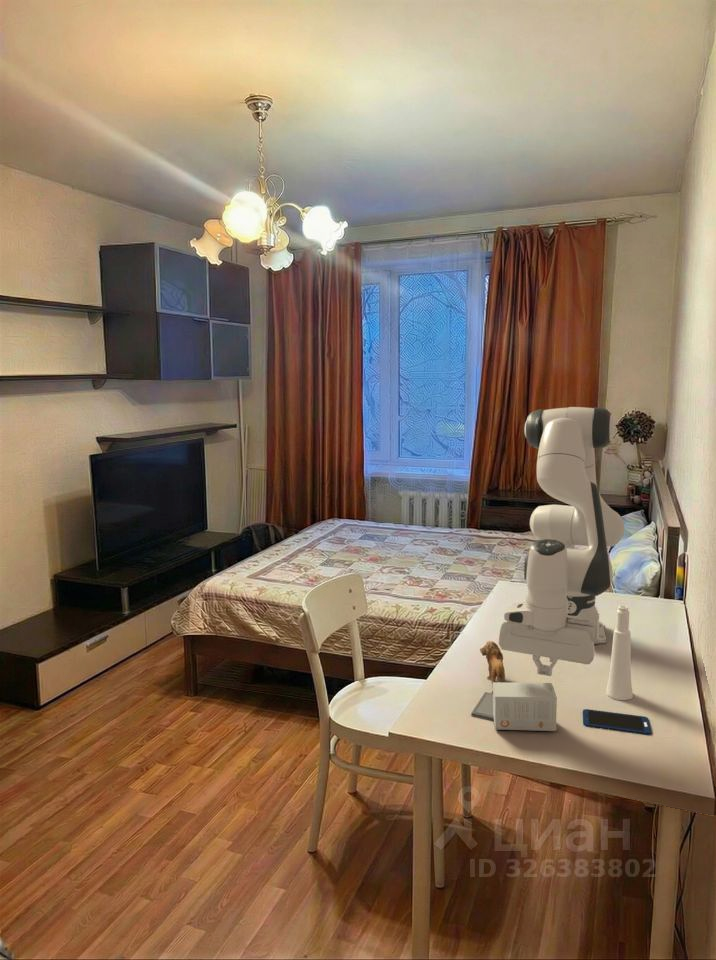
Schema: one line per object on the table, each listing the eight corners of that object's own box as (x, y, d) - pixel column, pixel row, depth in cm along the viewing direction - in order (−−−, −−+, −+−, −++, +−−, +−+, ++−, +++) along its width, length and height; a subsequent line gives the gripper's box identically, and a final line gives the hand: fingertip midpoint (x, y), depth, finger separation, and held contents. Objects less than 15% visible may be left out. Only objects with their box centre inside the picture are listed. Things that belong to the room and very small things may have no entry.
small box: (552, 682, 144) (492, 681, 146) (557, 698, 138) (494, 696, 139) (551, 715, 146) (492, 713, 147) (556, 732, 140) (494, 730, 141)
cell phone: (652, 736, 139) (652, 733, 139) (583, 727, 143) (583, 724, 143) (648, 719, 146) (648, 716, 145) (582, 711, 150) (582, 708, 150)
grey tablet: (485, 694, 158) (485, 691, 158) (550, 708, 151) (550, 705, 151) (471, 715, 148) (471, 712, 148) (540, 731, 141) (540, 728, 141)
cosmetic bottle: (623, 687, 160) (627, 601, 157) (638, 699, 154) (642, 610, 151) (600, 689, 159) (604, 603, 156) (614, 701, 153) (618, 612, 150)
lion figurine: (478, 671, 170) (478, 639, 169) (498, 670, 170) (498, 638, 169) (494, 699, 156) (494, 663, 154) (516, 697, 156) (516, 662, 155)
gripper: (598, 617, 140) (596, 677, 143) (504, 603, 150) (503, 660, 152) (594, 627, 135) (592, 689, 137) (497, 612, 144) (496, 671, 146)
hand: (544, 674), depth 145 cm, fingers closed
